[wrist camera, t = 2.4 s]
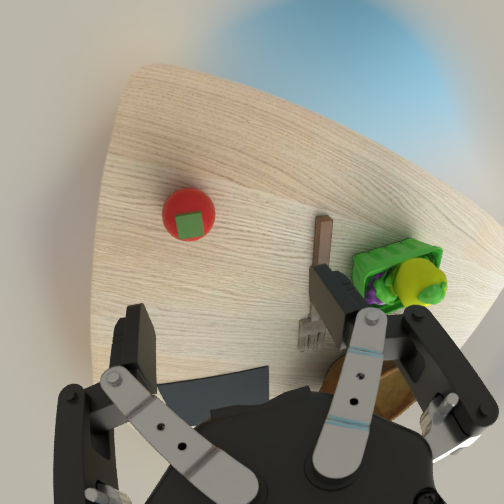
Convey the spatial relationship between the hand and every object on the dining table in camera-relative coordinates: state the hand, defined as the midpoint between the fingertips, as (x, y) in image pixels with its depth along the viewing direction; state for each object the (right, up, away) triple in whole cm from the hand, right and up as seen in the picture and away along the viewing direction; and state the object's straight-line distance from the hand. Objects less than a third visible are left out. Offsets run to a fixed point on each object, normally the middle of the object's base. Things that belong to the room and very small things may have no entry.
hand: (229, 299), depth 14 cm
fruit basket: (+17, +1, +22) cm, 28 cm away
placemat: (-4, -21, +29) cm, 36 cm away
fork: (+9, -2, +21) cm, 23 cm away
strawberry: (-5, +6, +12) cm, 15 cm away
